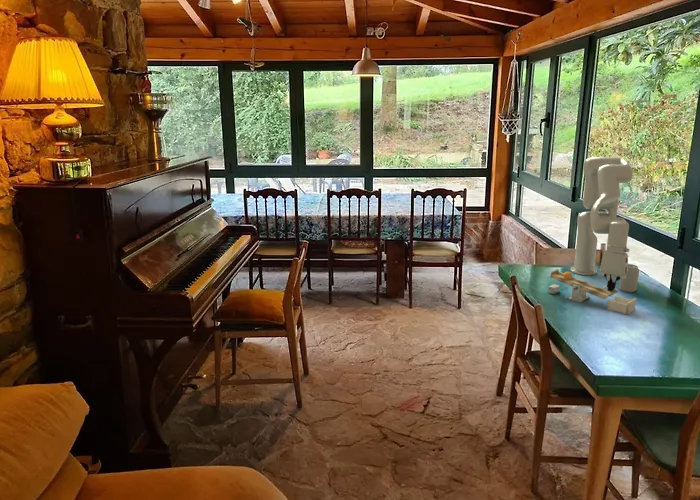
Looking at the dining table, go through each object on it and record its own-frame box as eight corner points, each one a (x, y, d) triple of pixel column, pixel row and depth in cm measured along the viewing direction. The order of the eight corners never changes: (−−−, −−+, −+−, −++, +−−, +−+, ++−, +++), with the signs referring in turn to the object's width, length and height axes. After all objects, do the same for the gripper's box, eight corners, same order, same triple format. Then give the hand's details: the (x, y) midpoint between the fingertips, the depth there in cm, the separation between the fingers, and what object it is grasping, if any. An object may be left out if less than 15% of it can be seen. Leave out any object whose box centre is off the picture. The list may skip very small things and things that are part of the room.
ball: (569, 269, 237) (574, 275, 236) (563, 274, 240) (569, 280, 238) (565, 271, 235) (571, 277, 234) (560, 275, 237) (565, 282, 236)
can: (632, 287, 248) (635, 263, 245) (639, 293, 241) (642, 268, 238) (615, 287, 249) (619, 263, 246) (621, 292, 242) (625, 267, 239)
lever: (550, 277, 240) (551, 271, 239) (563, 270, 249) (565, 265, 248) (605, 299, 224) (607, 293, 222) (617, 292, 233) (619, 286, 231)
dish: (614, 304, 228) (615, 293, 227) (634, 309, 222) (636, 298, 221) (606, 309, 223) (608, 298, 221) (627, 314, 217) (629, 303, 215)
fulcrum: (545, 294, 240) (546, 279, 239) (556, 288, 248) (557, 274, 246) (580, 303, 229) (581, 287, 227) (590, 297, 236) (592, 282, 234)
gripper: (637, 251, 224) (632, 291, 229) (601, 244, 235) (597, 283, 239) (631, 254, 219) (625, 295, 224) (594, 247, 230) (590, 287, 234)
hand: (610, 289), depth 232 cm, fingers closed
